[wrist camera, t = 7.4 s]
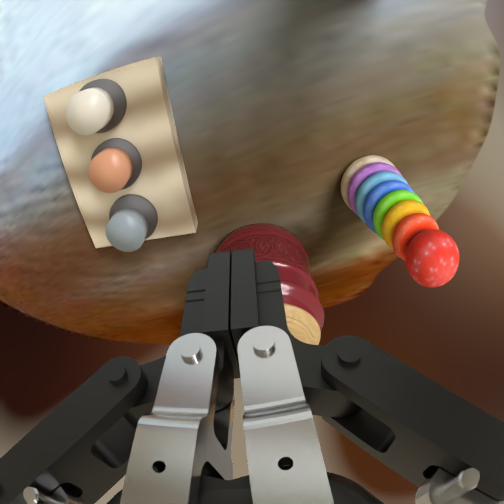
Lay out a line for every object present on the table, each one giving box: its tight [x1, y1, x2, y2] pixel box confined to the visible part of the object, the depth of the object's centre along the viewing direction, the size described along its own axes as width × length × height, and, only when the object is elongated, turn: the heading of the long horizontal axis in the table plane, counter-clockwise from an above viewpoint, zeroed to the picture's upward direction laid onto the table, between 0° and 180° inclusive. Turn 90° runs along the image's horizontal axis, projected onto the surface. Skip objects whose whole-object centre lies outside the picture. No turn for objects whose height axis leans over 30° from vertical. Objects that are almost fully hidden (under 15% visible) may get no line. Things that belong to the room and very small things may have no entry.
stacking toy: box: [341, 155, 459, 287], centre depth 31 cm, size 8×8×19 cm
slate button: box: [106, 208, 148, 252], centre depth 35 cm, size 5×5×2 cm
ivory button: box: [66, 87, 114, 135], centre depth 27 cm, size 5×5×2 cm
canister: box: [216, 224, 324, 345], centre depth 38 cm, size 13×13×18 cm
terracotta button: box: [89, 147, 133, 193], centre depth 32 cm, size 5×5×2 cm
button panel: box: [44, 57, 198, 248], centre depth 34 cm, size 21×14×3 cm, turn 8°
